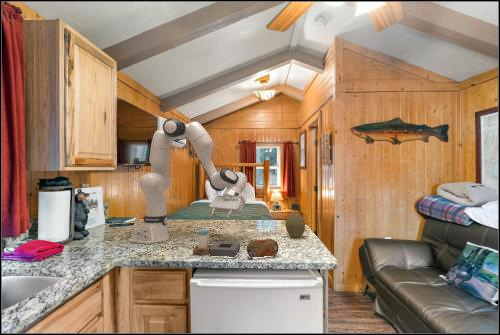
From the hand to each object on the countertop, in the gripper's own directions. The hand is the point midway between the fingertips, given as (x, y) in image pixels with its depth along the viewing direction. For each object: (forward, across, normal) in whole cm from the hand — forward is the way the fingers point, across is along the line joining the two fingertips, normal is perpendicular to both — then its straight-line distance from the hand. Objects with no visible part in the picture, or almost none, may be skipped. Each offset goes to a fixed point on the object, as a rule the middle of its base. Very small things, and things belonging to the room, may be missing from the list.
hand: (219, 217), depth 133 cm
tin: (+12, +27, +10) cm, 32 cm away
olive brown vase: (-17, +26, +39) cm, 50 cm away
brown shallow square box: (+19, 0, +2) cm, 20 cm away
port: (+16, +10, +6) cm, 20 cm away
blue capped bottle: (+19, 0, +2) cm, 20 cm away
